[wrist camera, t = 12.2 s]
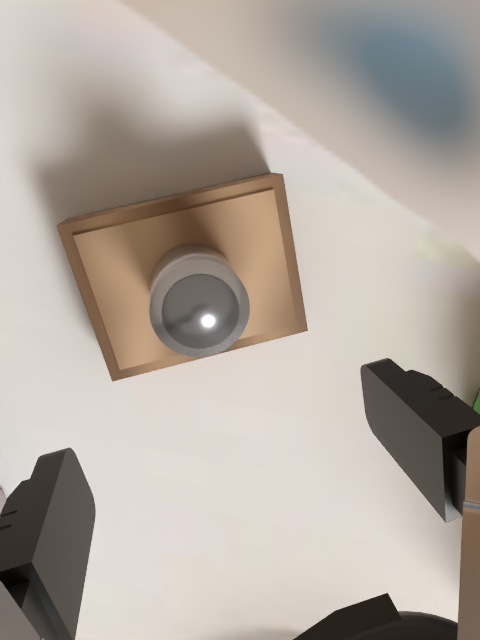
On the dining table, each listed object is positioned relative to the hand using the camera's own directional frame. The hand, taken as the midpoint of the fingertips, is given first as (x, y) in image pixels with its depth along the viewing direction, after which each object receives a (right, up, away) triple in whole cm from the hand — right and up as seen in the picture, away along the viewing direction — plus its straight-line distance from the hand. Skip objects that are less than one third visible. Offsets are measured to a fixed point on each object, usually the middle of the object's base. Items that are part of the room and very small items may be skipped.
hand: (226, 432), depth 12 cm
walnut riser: (-3, +6, +17) cm, 19 cm away
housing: (-2, +5, +14) cm, 16 cm away
